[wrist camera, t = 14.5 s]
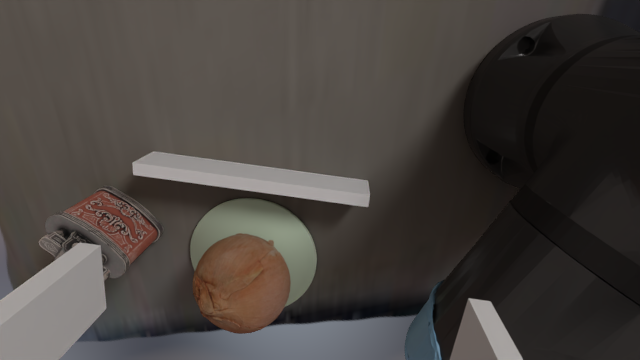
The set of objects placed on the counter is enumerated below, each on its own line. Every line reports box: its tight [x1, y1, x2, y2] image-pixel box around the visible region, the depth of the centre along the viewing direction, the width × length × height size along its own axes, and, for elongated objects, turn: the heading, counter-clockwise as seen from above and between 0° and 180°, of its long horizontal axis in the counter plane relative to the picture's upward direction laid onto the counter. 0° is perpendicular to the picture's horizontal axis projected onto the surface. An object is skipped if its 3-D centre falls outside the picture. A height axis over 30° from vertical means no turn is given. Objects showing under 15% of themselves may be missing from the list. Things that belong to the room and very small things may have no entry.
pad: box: [190, 198, 317, 306], centre depth 41 cm, size 14×14×1 cm
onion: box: [193, 233, 291, 333], centre depth 37 cm, size 10×9×10 cm
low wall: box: [133, 151, 370, 207], centre depth 36 cm, size 22×1×4 cm, turn 83°
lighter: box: [39, 186, 163, 281], centre depth 36 cm, size 8×3×10 cm, turn 49°
